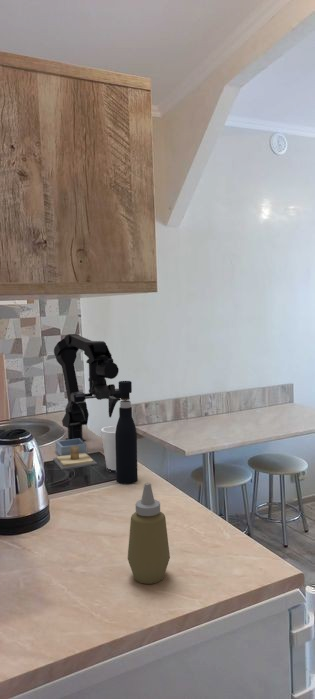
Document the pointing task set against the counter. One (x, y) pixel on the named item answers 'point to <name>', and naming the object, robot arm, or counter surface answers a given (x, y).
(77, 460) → the lid
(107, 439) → the foam cup
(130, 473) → the black bottle
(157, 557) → the squeeze bottle
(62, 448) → the dish
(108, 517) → the counter surface
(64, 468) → the mat
